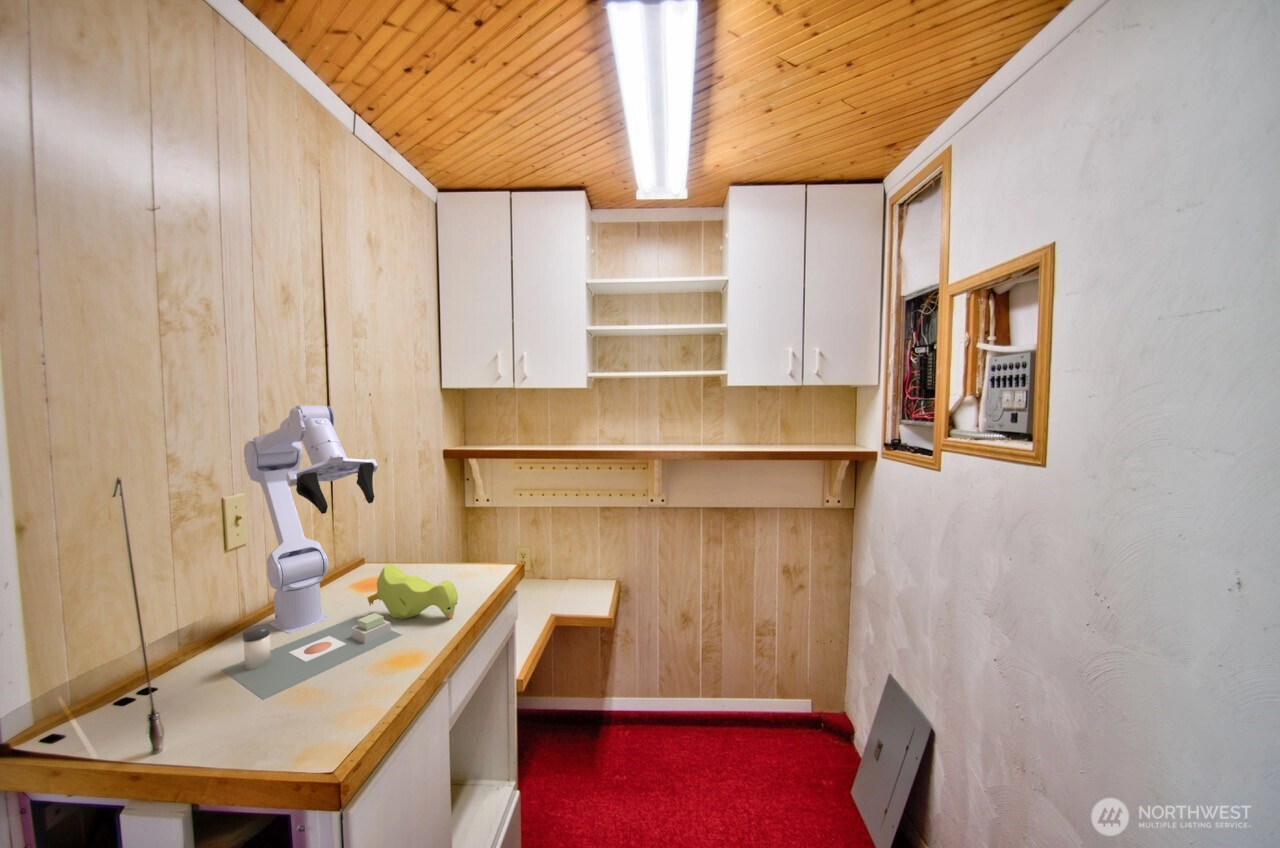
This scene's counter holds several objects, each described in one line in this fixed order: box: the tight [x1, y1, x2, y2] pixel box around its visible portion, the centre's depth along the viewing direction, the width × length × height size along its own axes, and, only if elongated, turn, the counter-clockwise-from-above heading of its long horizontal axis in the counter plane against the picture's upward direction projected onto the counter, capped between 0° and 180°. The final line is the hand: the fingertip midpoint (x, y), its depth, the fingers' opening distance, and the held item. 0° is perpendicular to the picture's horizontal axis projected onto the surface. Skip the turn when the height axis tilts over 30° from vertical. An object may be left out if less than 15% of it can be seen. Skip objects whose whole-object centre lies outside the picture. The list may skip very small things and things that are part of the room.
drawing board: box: [221, 616, 403, 701], centre depth 85 cm, size 18×23×2 cm
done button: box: [358, 612, 385, 631], centre depth 90 cm, size 3×3×2 cm
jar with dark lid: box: [242, 623, 271, 670], centre depth 81 cm, size 4×4×7 cm
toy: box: [367, 563, 459, 620], centre depth 99 cm, size 6×17×20 cm
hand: (349, 505), depth 81 cm, fingers open, 7 cm apart
